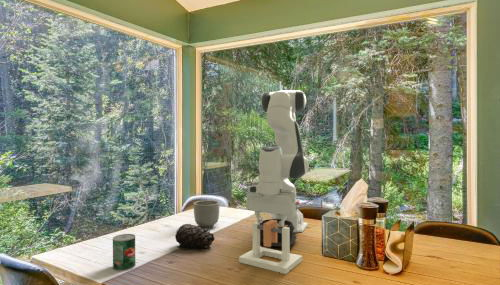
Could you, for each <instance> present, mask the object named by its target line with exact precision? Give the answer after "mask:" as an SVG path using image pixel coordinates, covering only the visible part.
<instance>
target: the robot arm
mask: <svg viewBox="0 0 500 285" xmlns="http://www.w3.org/2000/svg"><path fill="white" fill-rule="evenodd" d="M260 105H261V108H262V111H264V112H265V113H266V123H267V126H268V127H269V128H270V129H271V130H272V131H274V142H275V144H276V145H265V146H263V147H261V148H260V151H259V158H258V172H259V177H258V183H255V184H253V185H250V186H248V187H247V192H248V193H247V195H246V203H245V204H246V206H245V207H246V209H247V210H248V211H253V212H254V215H255V218H256V220H257V221H256V222H258V223H262V222H263V221H264V220H263V219H264V218H263V217H262V215H261V214H260V213H265V214H266V213H267V214H271V219H282V220H281V221H279V226H282V227H283V226H284V221H285V220H287V221H290V222H292V224H293V226H294V227H295V229H294V230H293V234H295V233H303V231H304V230H305V229H306V228H307V227H308V222H305V221H304V214H303V213H302V212H301V211H300V210H299V208H298V206H300V201H297V188H296V186H295V184H293V183H292V182H291V181H290V179H296V180H299V179H300V178H302V177H303V176H305V175H306V174H307V173H308V171H309V168H310V164H309V160H308V158H307V157H306V156H305V155H304V152H303V151H304V150H303V143H302V137H301V132H300V126H299V123H298V122H297V121H296V120H297V119H296V115H297V116H298V115H299V114H300V113H301V112H303V111H304V109H305V107H306V105H307V98H306V95H305V92H303V91H302V90H297V89H296V90H285V89H284V90H276V91H266V92H264V93H263V94H262V96H261V100H260ZM281 151H282V153H281Z"/></svg>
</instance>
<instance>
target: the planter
mask: <svg viewBox="0 0 500 285" xmlns="http://www.w3.org/2000/svg"><path fill="white" fill-rule="evenodd" d="M220 206H221V204H220V202H219V201H217V200H210V199H206V200H197V201H194V202H193V206H192V207H193V218H194V221H195V224H196V225H197V226H198V227H200V228H202V229H207V230H208V229H212V228H213V227H214V226H215V225H216V224H217V223H218V221H219V219H220Z"/></svg>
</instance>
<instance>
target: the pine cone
mask: <svg viewBox="0 0 500 285" xmlns="http://www.w3.org/2000/svg"><path fill="white" fill-rule="evenodd" d="M214 235H215V234H214V233H211V232H210V231H209V230H208V228H207V229H205V228H201V227H200V226H199V225H195V224H192V223H185V224H182V225H180V227H178V229H176V232H175V235H174V236H175V241H176V242H177V243H178V246H177V248H178V249H181V250H188V251H189V250H190V251H191V250H192V251H211V250H213V248H212V247H211V245H212V244H213V242H214V241H215V237H214Z"/></svg>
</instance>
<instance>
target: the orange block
mask: <svg viewBox="0 0 500 285" xmlns="http://www.w3.org/2000/svg"><path fill="white" fill-rule="evenodd" d="M272 228H277V220H270V221H268V222H266V223H264V224H263V240H264V242H263V247H265V248H271V247H272V246H271V242H273V243H277V232H271V229H272Z"/></svg>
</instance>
